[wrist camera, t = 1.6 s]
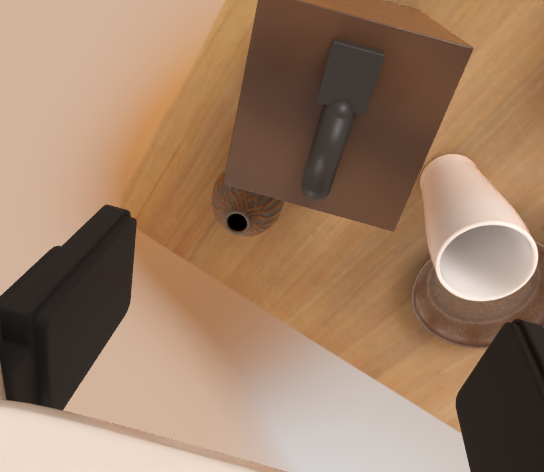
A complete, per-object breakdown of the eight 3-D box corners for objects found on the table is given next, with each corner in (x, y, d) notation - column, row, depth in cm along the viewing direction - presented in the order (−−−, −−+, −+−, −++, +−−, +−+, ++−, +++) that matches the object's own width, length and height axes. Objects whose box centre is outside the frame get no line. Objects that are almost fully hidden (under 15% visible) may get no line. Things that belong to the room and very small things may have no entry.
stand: (302, -22, 38) (259, -11, 21) (420, 10, 38) (474, 47, 21) (274, 97, 43) (222, 184, 26) (378, 126, 43) (394, 232, 26)
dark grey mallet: (333, 37, 21) (332, 41, 20) (383, 50, 21) (386, 56, 20) (292, 186, 26) (288, 199, 24) (333, 198, 26) (332, 211, 24)
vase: (301, 179, 47) (292, 220, 39) (262, 224, 50) (246, 269, 43) (247, 137, 46) (226, 171, 38) (210, 186, 49) (184, 226, 41)
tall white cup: (396, 182, 45) (413, 267, 33) (449, 129, 42) (491, 201, 29) (446, 221, 47) (481, 318, 34) (501, 173, 43) (563, 260, 31)
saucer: (502, 350, 54) (509, 367, 51) (385, 305, 53) (387, 320, 51) (590, 252, 46) (602, 268, 44) (455, 198, 45) (460, 210, 43)
